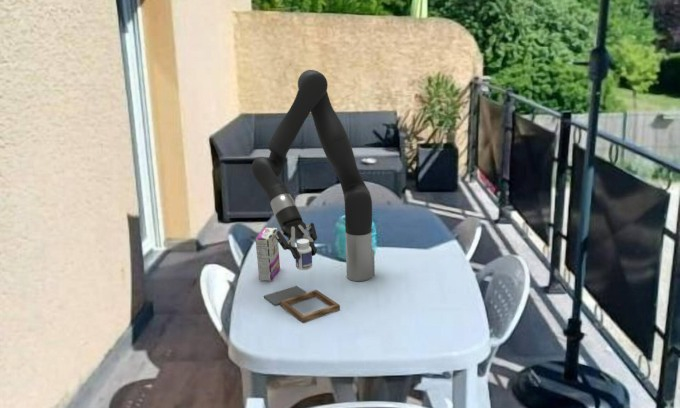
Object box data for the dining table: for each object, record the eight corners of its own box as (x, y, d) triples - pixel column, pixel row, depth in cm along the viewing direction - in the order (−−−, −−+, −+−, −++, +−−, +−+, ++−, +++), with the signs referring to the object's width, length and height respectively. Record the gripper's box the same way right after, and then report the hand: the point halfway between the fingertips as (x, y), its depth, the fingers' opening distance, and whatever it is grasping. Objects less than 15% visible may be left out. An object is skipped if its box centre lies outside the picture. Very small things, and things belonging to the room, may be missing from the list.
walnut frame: (316, 294, 218) (316, 289, 217) (340, 309, 207) (339, 304, 206) (280, 306, 210) (280, 301, 210) (302, 322, 199) (302, 317, 199)
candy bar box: (267, 268, 240) (264, 226, 235) (280, 269, 239) (277, 227, 234) (258, 281, 229) (254, 238, 224) (271, 282, 228) (268, 238, 223)
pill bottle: (314, 264, 207) (313, 238, 204) (308, 271, 202) (307, 245, 199) (299, 262, 209) (298, 237, 206) (293, 269, 204) (291, 243, 201)
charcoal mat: (296, 287, 224) (296, 285, 223) (308, 295, 217) (308, 293, 217) (263, 297, 217) (263, 295, 217) (274, 306, 210) (274, 304, 210)
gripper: (269, 209, 202) (290, 257, 196) (308, 200, 209) (330, 246, 204) (262, 221, 207) (283, 267, 202) (300, 212, 215) (321, 256, 209)
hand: (306, 256), depth 203 cm, fingers closed on pill bottle, 5 cm apart
